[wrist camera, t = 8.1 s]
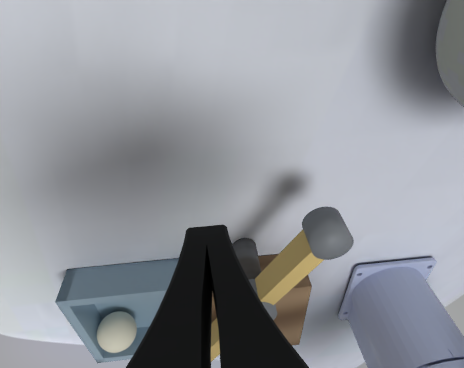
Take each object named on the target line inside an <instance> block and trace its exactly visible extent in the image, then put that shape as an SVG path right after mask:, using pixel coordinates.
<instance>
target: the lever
mask: <svg viewBox="0 0 464 368" xmlns="http://www.w3.org/2000/svg"><path fill="white" fill-rule="evenodd" d="M302 227H303V230H302V231H301V232H300V233H299V234H298V235H297V236H296V237H295V238H294V239H293V240H292V241H291V242H290V243H289V244H288V245H287V246H286V247H285V248H284V249H283V250H282V251H281V253H280V254H279V255H278V256H277V257H276V258H275V259H274V260H273V261H272V262H271V263H270V264H269V265H268V266H267V267H266V268H265V269H264V270H263V271H262V272H261V273H260V274H259V275H258V276H257V277H256V278H255V279H249V282H250V284H251V285H252V287H253V289H254V291H255V292H256V294H257V296H258V297H259V299H260V301H261V302H262V304H263V305H264V307H265V309H266V310H267V312H268V313H269V315H270V316H271V318H272V319H273V320H274V319H275V318H276V316H277V310H276V305H275V304H276V303H277V302H278V301H279V300H280V299H281V298H282V297H283V296H284V295H285V294H287V293H288V292H289V291H290V290H291V289H292V288H293V287H294V286H295V285H297V284H298V283H299V282H300V281H301V280H302V279H303V278H304V277H305V276H307V275H308V274H309V273H310V272H311V271H312V270H313V269H314V268H315V267H316V266H318V265H319V264H320V263H321V262H322V261H323V260H329V259H334V258H338V257H340V256H342V255H344V254H345V253H347V252H348V251H349V250H350V249H351V247H352V245H353V237H352V235H351V234H350V232H349V230H348V228H347V226H346V224H345V222H344V220H343V219H342V217H341V215H340V213H339V211H338V210H336V209H335V208H332V207H320V208H317V209H314V210H313V211H311V212H309V213H308V214H307V215H306V216H305V217H304V219H303V222H302ZM219 354H220V345H219V329H218V323H217V318H216V319H215V320H214V321H213V322H212V324H211V361H212V360H214V359H215V358H216V357H217V356H218V355H219Z"/></svg>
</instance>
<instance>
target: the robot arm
mask: <svg viewBox="0 0 464 368" xmlns="http://www.w3.org/2000/svg"><path fill="white" fill-rule="evenodd" d="M436 262H437V261H436V260H435V258H421V259H412V260H402V261H393V262H383V263H374V264H364V265H358V266H356V267H355V268H354V271H353V274H352V276H351V279H350V282H349V285H348V288H347V291H346V294H345V297H344V300H343V303H342V306H341V309H340V312H339V315H338V317H339V319H340V320H348V321H349V323H350V326H351V328H352V330H353V333H354V335H355V338H356V340H357V343H358V345H359V348H360V350H361V353H362V355H363V358H364V360H365V362H366V365H367V367H368V368H464V336H463V335H462V333H461V332H460V330H459V329H458V327H457V326H456V324H455V323H454V321H453V320H452V318H451V317H450V315H449V314H448V313H447V311H446V310H445V308H444V307H443V305H442V304H441V302H440V301H439V299H438V298H437V296H436V295H435V293H434V292H433V290H432V289H431V288H430V286H429V285H428V283H427V282H426V280H427V278H428V276H429V275H430V273H431V271H432V269H433V268H434V266H435V264H436ZM212 291H213V297H214V303H215V310H216V316H217V323H218V329H219V345H220V361H221V368H309V367H308V366H307V364H306V363H305V362H304V361H303V359H302V358H301V357H300V356H299V354H298V353H297V352H296V350H295V349H294V348H293V347H292V345H291V344H290V343H289V342H288V340H287V339H286V338H285V336H284V335H283V333H282V332H281V331H280V329H279V328H278V326H277V325H276V324H275V322H274V321H273V319H272V318H271V316H270V315H269V313H268V312H267V310H266V309H265V307H264V305H263V304H262V302H261V301H260V299H259V297H258V296H257V294H256V292H255V291H254V289H253V287H252V285H251V284H250V282H249V280H248V278H247V276H246V274H245V272H244V270H243V268H242V266H241V264H240V262H239V260H238V258H237V256H236V253H235V251H234V248H233V246H232V243H231V241H230V238H229V234H228V230H227V227H226V226H225V225H215V226H205V227H194V228H188V229H187V230H186V234H185V239H184V243H183V247H182V251H181V254H180V257H179V260H178V263H177V266H176V268H175V271H174V274H173V276H172V279H171V281H170V284H169V286H168V289H167V291H166V293H165V295H164V298H163V300H162V302H161V304H160V307H159V309H158V311H157V313H156V315H155V317H154V319H153V321H152V323H151V325H150V327H149V328H148V330H147V332H146V334H145V336H144V338H143V339H142V341H141V343H140V345H139V346H138V348H137V350H136V352H135V353H134V355H133V357H132V358H131V360H130V362H129V363H128V365H127V367H126V368H211V324H212Z"/></svg>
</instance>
